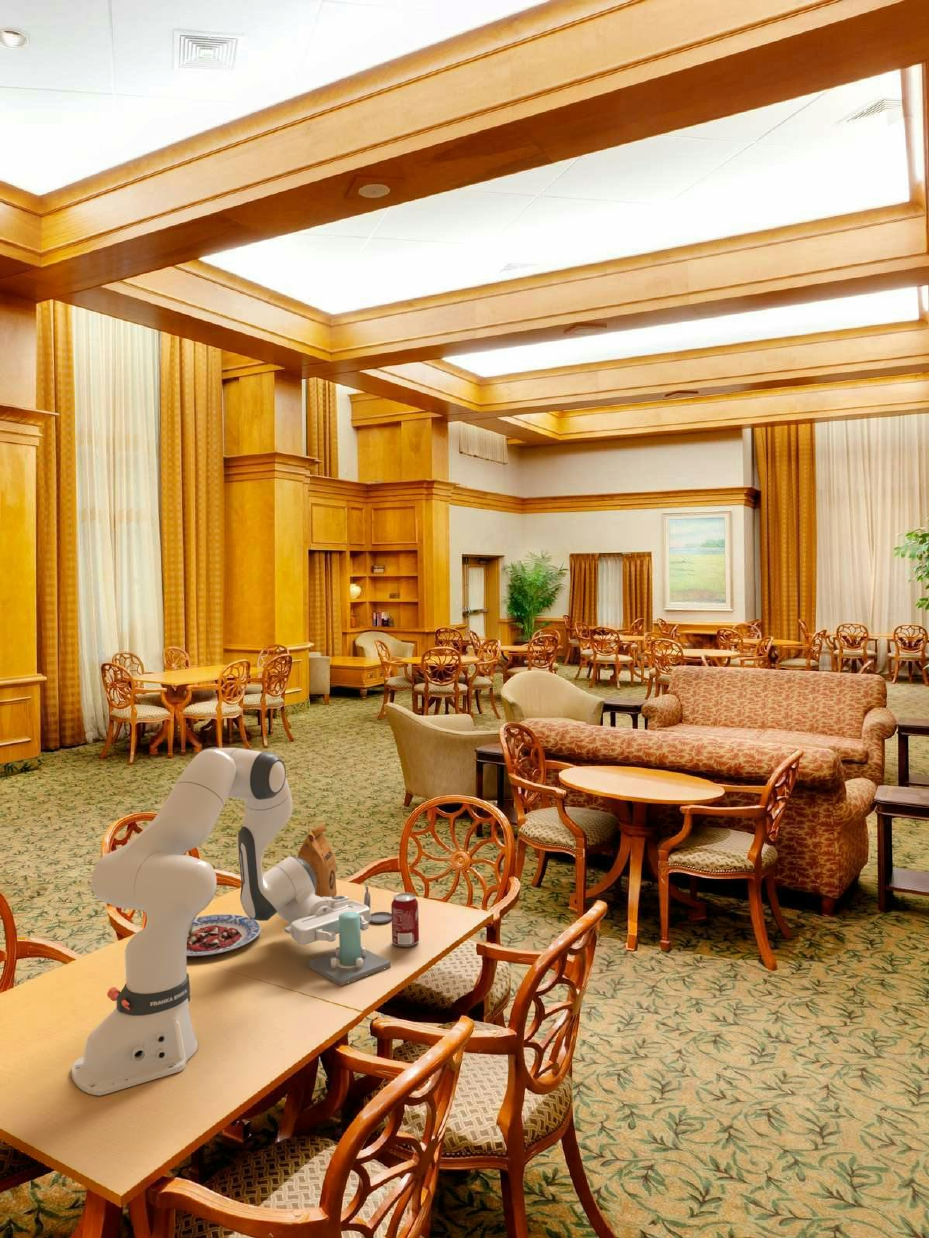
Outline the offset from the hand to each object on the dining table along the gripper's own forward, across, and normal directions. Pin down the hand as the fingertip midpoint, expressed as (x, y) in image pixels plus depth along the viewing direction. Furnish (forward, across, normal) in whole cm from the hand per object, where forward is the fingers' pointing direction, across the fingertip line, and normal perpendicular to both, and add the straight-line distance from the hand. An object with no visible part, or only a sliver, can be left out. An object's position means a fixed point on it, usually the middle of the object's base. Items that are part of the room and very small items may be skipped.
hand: (349, 931), depth 198 cm
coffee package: (-41, +17, +9) cm, 45 cm away
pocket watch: (-20, +22, +9) cm, 31 cm away
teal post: (0, 0, +7) cm, 7 cm away
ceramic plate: (-39, -17, +9) cm, 43 cm away
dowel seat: (-1, 0, +8) cm, 9 cm away
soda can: (-2, +18, +9) cm, 20 cm away
